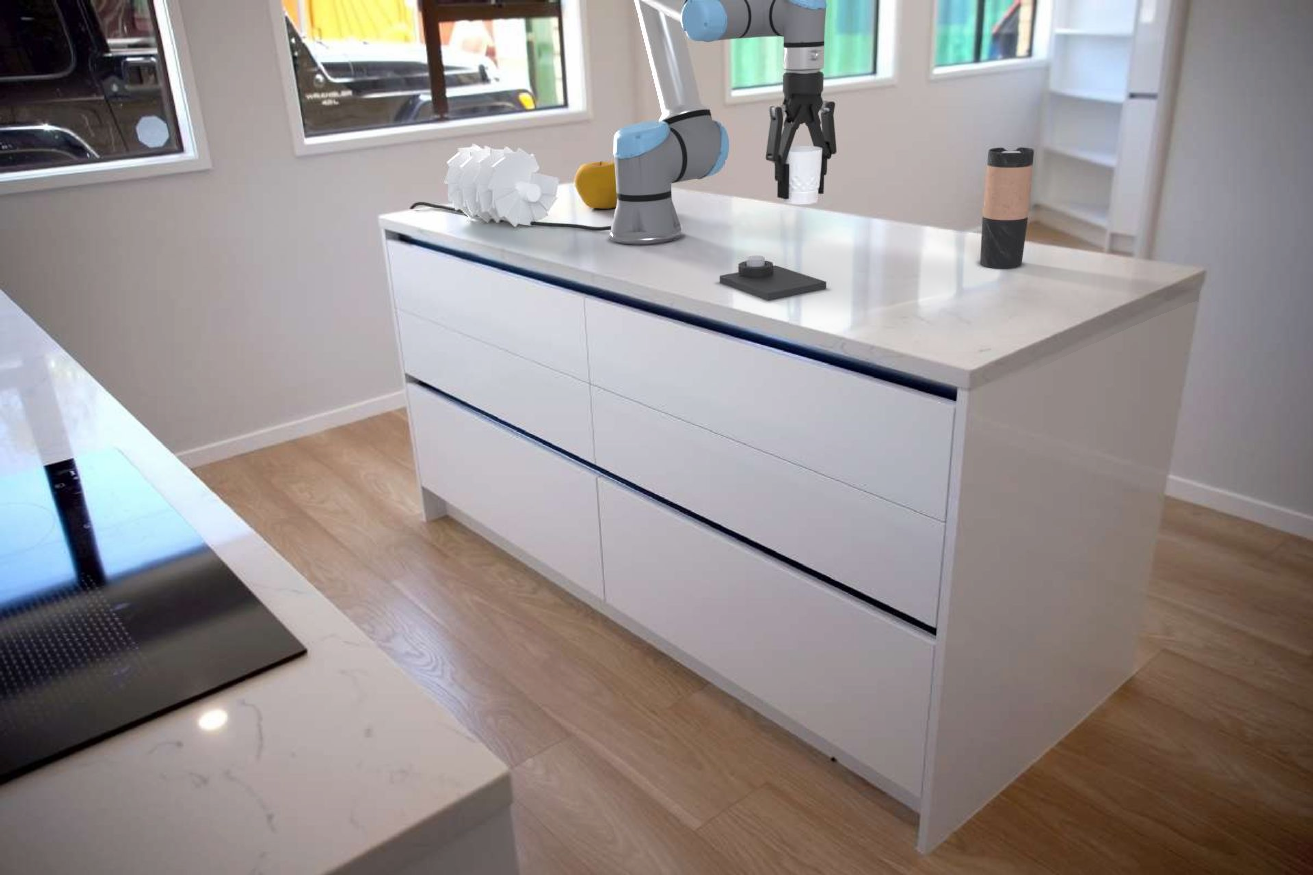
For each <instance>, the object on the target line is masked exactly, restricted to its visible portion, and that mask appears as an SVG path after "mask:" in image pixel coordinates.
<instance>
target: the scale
mask: <svg viewBox="0 0 1313 875" xmlns="http://www.w3.org/2000/svg"><path fill="white" fill-rule="evenodd" d="M719 284H721V285H724V286H727V287H729V288H732V289H735V290H737V291H740V292H742V293H745V294H748V295H751V296H753V297H756V298H759V299H761V300H764V301H767V302H771V301H776V300H780V299H786V298H791V297H795V296H800V295H805V294H810V293H815V292H819V291H820V292H821V291H825V290H827V281H825V280H822V279H819V278H816V277H814V276H810V275H807V274H804V273H801V272H798V271H794V270H792V269H789V268H786V267H783V266H779V265H774V263H773V261H769V260H765V266H760V267H749V266H747V260H744V261H741V262H738V264H737V272H733V273H726V274H722V275H719Z"/></svg>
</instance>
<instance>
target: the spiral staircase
mask: <svg viewBox="0 0 1313 875" xmlns="http://www.w3.org/2000/svg"><path fill="white" fill-rule="evenodd" d="M446 164H447V165H448V169H447V172H446V175H445V177H444V179H443V183H444V184H446V185H447V199H448V200H447V201H448V202H452V206H453V208H455V210H458V209H461V210H462V211H463V212H464V213H465V214H464V215H465V216H467V217H468V218H469V219H471V220H472V219H473V218H474V217H476V216H480V217H481V218H480V217H479V218H480V219H482V220H483V221H485V222H486V223H488V224H489V222H490V221H491V220H490V219H494V220H495V221H494V220H493V221H494V222H495V223H497V224H498V223H499V222H500V220H504V221H508V222H510V223H509V224H510V225H512V226H513V227H514V228H516V227H517V225H525V226H530V227H533V226H534V225H530V222H532V221H533V222H539V221H541V220H542V219H544V218H546V217H548V215H549V214H548V212H550V210H551V208H552V207H553V205H554V204H555V202H556V201H557V199H558V197H557V193H558V189H559V188H558V187H559V182H560V177H556V176H551V175H546V174H543V173H537V172H538V171H540V169H541V168H540V166H539V164H538V161H537V159H536V156H535V154H534V153H531V154H529V153H528V152H526V151H525V150H524V149H522V148H521V147H518V148H517V150H516V151H513V150H512V149H511V148H510V147H508V146H507V145H505V146H504V147H503V149H501V148H492V147H490V146H488V145H486V144H484V146H483V147H480V146H478V145H477V144H476V143H473V142H472V144H471V146H469V147H457V153H456V154H455V155H454V156H453V157H451V158H450V159H449V160H447V161H446Z"/></svg>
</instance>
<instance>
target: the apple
mask: <svg viewBox="0 0 1313 875" xmlns="http://www.w3.org/2000/svg"><path fill="white" fill-rule="evenodd" d="M573 181H574V186H575V189H576V192H577V194H578V196H579V197H580V198H581V201H582V202H583V203H584V204H585V205H586V206H587V207H589V208H590V209H606V210H607V209H609V210H610V209H614V208H616V206H617V190H616V174H615V161H603V160H601V161H593V162H592V161H591V162H586V163H584V164H581V166H580V167H579V168H578V170H577V171H576V173H575V176H574V180H573Z"/></svg>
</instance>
